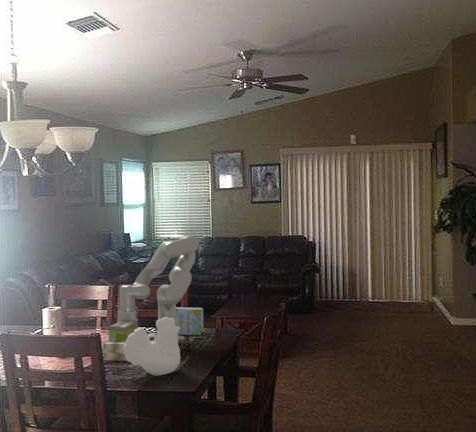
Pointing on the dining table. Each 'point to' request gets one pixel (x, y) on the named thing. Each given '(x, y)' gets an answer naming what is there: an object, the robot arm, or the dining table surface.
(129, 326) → the tea box
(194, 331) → the snack box
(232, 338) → the dining table surface
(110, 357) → the maple board
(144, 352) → the decorative rooster
